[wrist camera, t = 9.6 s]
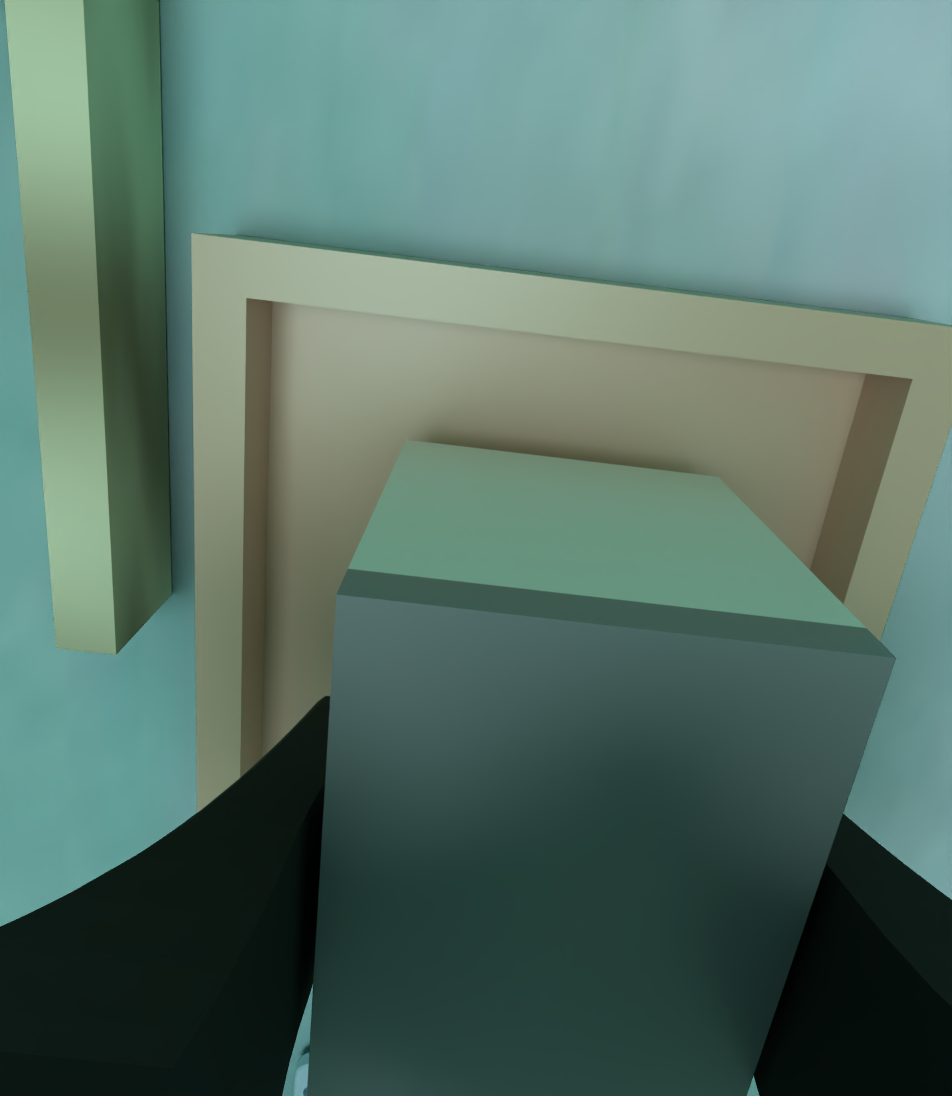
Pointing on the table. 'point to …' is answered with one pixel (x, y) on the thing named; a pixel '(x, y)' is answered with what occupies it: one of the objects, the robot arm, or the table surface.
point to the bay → (96, 304)
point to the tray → (513, 433)
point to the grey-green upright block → (573, 781)
